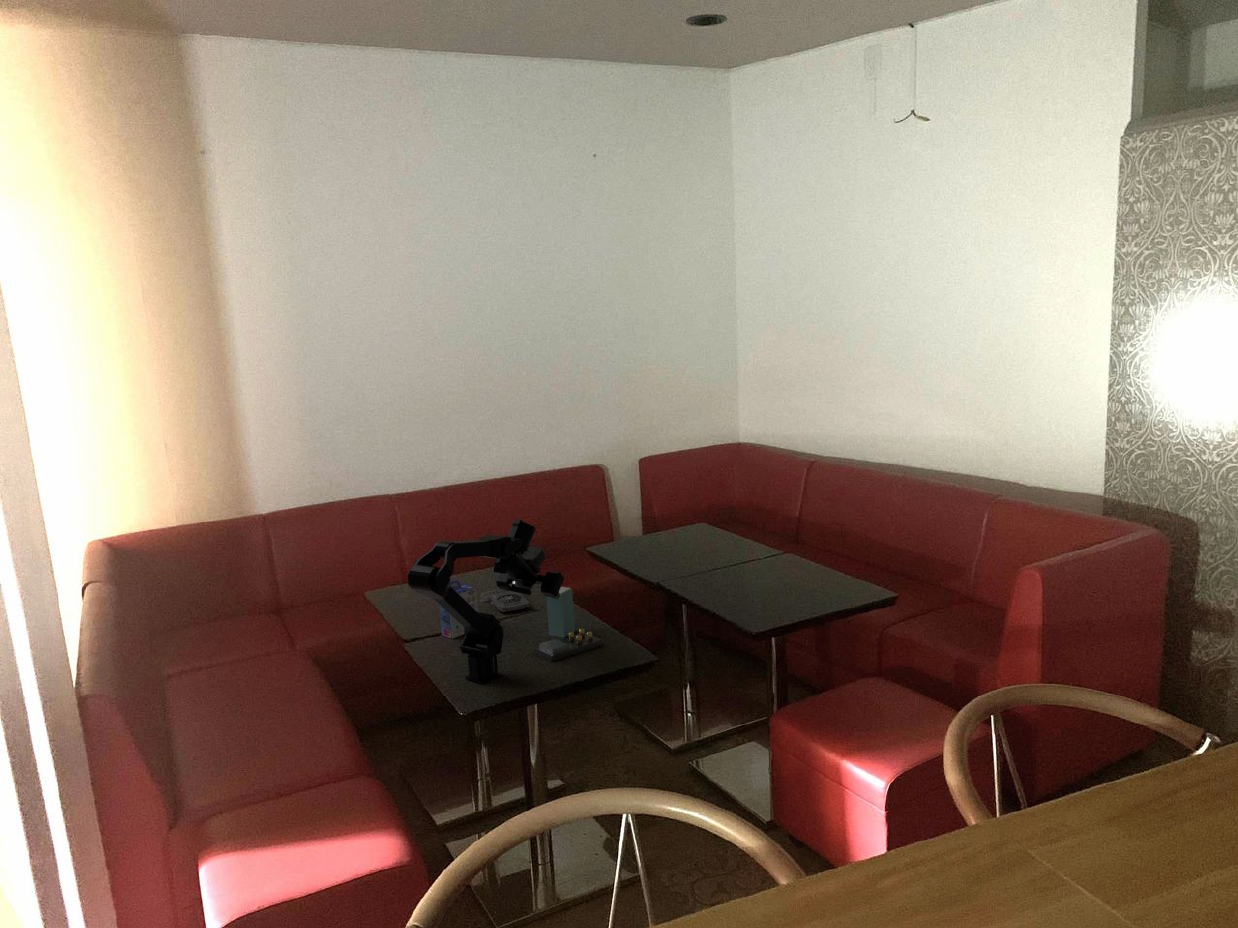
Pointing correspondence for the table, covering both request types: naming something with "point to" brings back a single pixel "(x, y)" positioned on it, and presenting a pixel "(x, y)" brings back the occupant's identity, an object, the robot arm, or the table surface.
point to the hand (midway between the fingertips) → (544, 595)
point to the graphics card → (506, 600)
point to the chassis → (567, 646)
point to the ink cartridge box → (448, 622)
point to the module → (561, 613)
